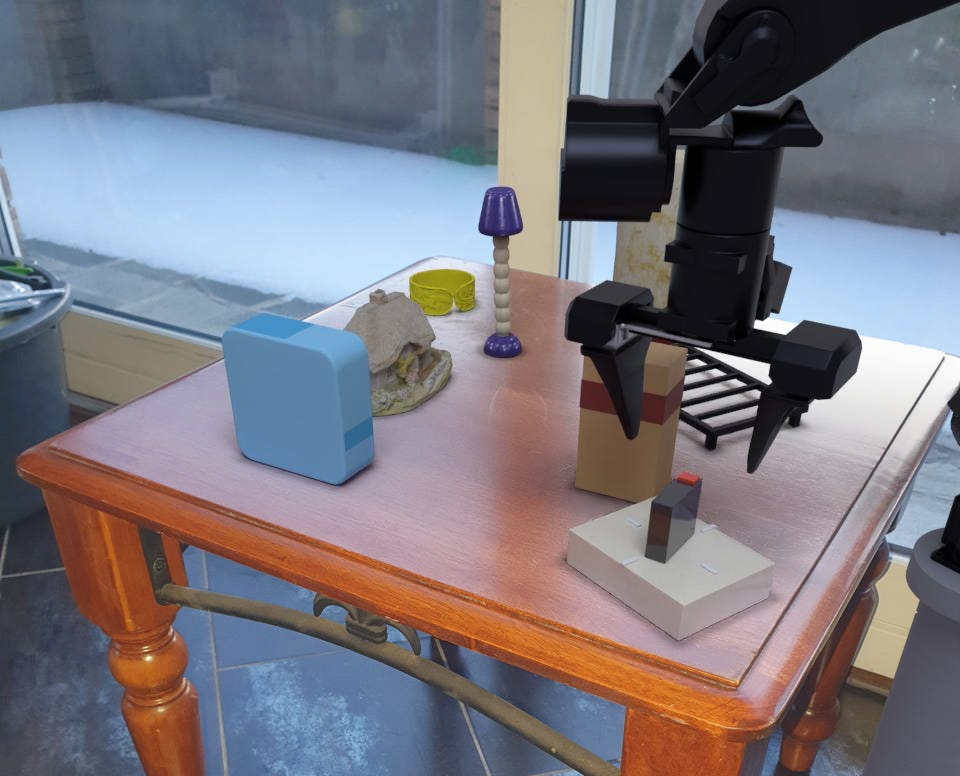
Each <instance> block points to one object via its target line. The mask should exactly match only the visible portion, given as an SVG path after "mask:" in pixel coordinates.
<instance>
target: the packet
mask: <svg viewBox="0 0 960 776" xmlns="http://www.w3.org/2000/svg"><path fill="white" fill-rule="evenodd" d="M672 345H673V344H671V345H666V344H661V343H655V342H651V343H650V346H649V349H648V352H647V355H646V358H645V364H644V365H645V366H644V383H643V399H642V415H641V421H640V427H639V432H638V435H637V437H636V438H634V439H633V440H628V439H627V438H626V436H625V433H624V431H623V428H622V425H621V423H620V420H619V418H618V415H617V413H616V410H615V408H614V405H613V403H612V400H611V398H610V396H609V393H608V391H607V389H606V387H605V385H604V383H603V381H602V379H601V377H600V375H599V374H598V372H597V370H596V368H595V366H594V364H593V362H592V360H591V359H590V358H589V357H587V356H583V361H582V362H583V364H582V376H581V377H582V378H581V379H580V391H579V394H580V395H579V420H578V421H579V422H578V434H577V435H578V436H577V451H576V463H575V464H576V465H575V478H574V480H575V481H574V488H575V489H580V490H583V491H584V490H585V491H587V492H592V493H595V494H599V495H604V496H608V497H611V498H617V499H619V500H624V501H628V502H632V503H635V504H636V503H639V502H642V501H644V500H647V499H650V498H652V497H655V496H657V495H659V494H660V493H661V492H662V491H663V490H664V489H665V488H666V487H668V486H669V485H670V484H671V481H672V474H673V473H672V471H673V464H674V458H675V457H674V456H675V449H676V443H677V435H678V427H679V413H680V405H681V404H682V401H683V396H684V392H683V389H684V385H685V382H686V381H685V380H686V376H684V375H685V370H686V367H687V362H686V360H687V355H688V354H687V353H688V348H683V347H677V346H672Z"/></svg>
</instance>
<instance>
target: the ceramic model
mask: <svg viewBox="0 0 960 776" xmlns="http://www.w3.org/2000/svg"><path fill="white" fill-rule="evenodd" d="M368 298H369V302H366V303H365V304H362V306H358V308H356V310H355V312H354V314H353V316H352V317H351V319H350V320H349V321H348V322H347V323H346V325H345V326H344V327H343V329H342V330H344V331H348V332H352V333H354V334H356V335H357V336H359V337H360V338H361V339H362V341H363V342H364V344H365V346H366V348H367V351H368V360H369V375H370V390H371V404H372V417H373V416H374V417H375V416H376V417H379V416H380V417H381V416H383V417H384V416H390V415H396V414H402V413H407V412H409V411H412V410H414V409H416V408H417V407H419V406H420V405H422V404H423V403H425V402H426V401H428V400H430V399H431V398H432V397H434V396H435V395H436V394H437V393H438V392H440V391H441V390H442V389H443V388H444V387H445V386H446V385H447V384H448V381H449V377H450V376H451V373H452V370H453V367H454V364H453V359H452V354H451V351H448V350H446V349H440V348H436V347H435V346H432V343H433V342H434V341H436V340H437V337H436V334H435V333H436V332H435V331H434V329H433V327H432V324H431V323H430V320H429V319H428V317H427V314H425V313H424V311H423V309H422V308H421V307H420V305H419V304H418V303H417V302H415V301H412V300H410V297H408V296H407V295H406V293H405V292H402V291H396V290H395V291H392V292H389V293H386V291H385V290H384V289H382V288H381V289H380V288H377V289H376V290H374V291H370V293H368Z"/></svg>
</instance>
